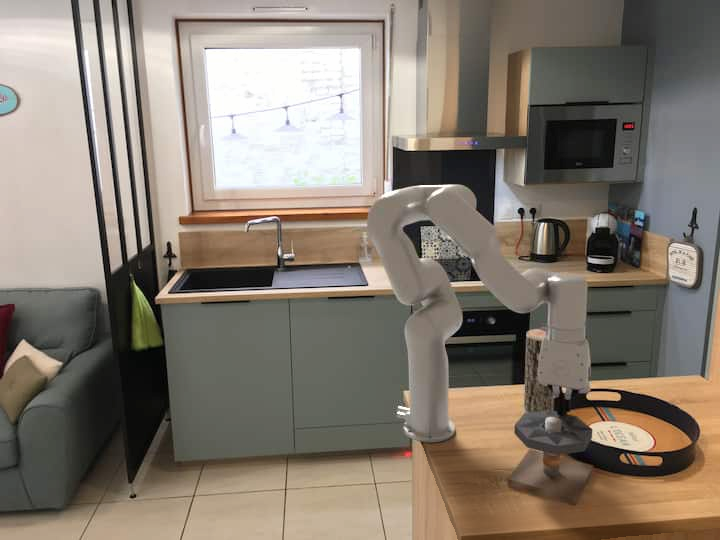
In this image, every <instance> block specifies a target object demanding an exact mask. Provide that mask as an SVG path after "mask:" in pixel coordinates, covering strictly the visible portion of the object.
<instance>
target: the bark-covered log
mask: <svg viewBox="0 0 720 540" xmlns="http://www.w3.org/2000/svg"><path fill="white" fill-rule="evenodd" d="M525 336H526V337H525V367H524V369H525V370H524V394H523V395H524V398H523V399H524V401H523V402H524V403H523V404H524V405H523V414H525V413H532V412H539V411H547V410H551V411H554V404H555V400H554V399H555V397H554V395H553V393H552V391H551V390H550V389H549V388H548V387H546V386H544V385H542V384H539V382H538V381H539V379H538V365H539V357H540V350H541V345H542V341H543V337H544V336H546V331H544V330H541V328H533V329H530V330H528V331H526V335H525Z"/></svg>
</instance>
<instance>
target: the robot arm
mask: <svg viewBox="0 0 720 540" xmlns="http://www.w3.org/2000/svg"><path fill="white" fill-rule="evenodd" d="M420 221H421V222H422V221H430V222H431V223H433V224H434V225H435V226H436V227H437V228H438V229H439V230H440V231H441V232H442V233H443V234H444V235H446V237H448V238H449V239H450V240H451V241H452V242H453V243H454V244H455V245H456V246H457V247H458V248H459V249H460V250H462V252H463V253H464V254H466V256H468V258H469V259H470V261H471V264H472V267H473V270H475V272H476V274H477V276H478V278H479V279H480V281H481V283H482V285H483V286H485V288H486V289H487V290H488V291H489V292H490V293H491V294H492V295H493V296H494V297H495V298H496V299H497V300H498V301H499V302H500V303H502V304H503V305H504V306H505V307H506V308H508V309H509V310H511V311H512V312H515V313H519V314H527V313H531V312H532V311H535V309H537V308H538V307H540V306H541V305H542V304H548V305H547V306H548V307H547V311H548V312H547V323H545V324H544V323H541V324H540V329H541V330H544V331H546V336H544V337H543V341H542V345H541V350H540V357H539V365H538V379H539V381H538V382H539V384H542V385H544V386H546V387H548V388H549V389H550V390H551V391H552V393H553V395H554V399H555V400H554V409H555V410H556V412H557V415H562V416H565V415H566V414H569V413H570V412H571V410H572V398H573V397H574V396H575V395H578V394H589V393H590V391H591V386H590V380H591V372H592V371H591V365H592V364H591V354H590V346H589V341H588V339H586V325H587V324H586V323H587V322H586V321H587V319H586V318H587V301H588V281H587V279H586V277H584V276H583V275H580V274H576V273H569V272H568V273H560V272H559V273H558V272H554V271H550V270H547V269H543V268H537V267H533V268H528V269H526V270H524V271H522V273H520V272H519V271H518V270H517V269H516V268H515V267H514V266H513V265H512V264H511V263H510V262H509V261H508V259H506V257H505V256H504V254H503V252H502V250H501V247H500V241H499V231H498V228H497V227H496V226H495V225H493V224H492V223H491V222H490V221H489V220H487V219H486V218H485V217H484V216H483V215H482V214H481V213H480V212H479V211H477V198H476V196H475V194H474V192H473V191H472V190H471V189H470V188H469V187H467V186H465V185H463V184H442V185H441V184H438V185H437V184H436V185H435V184H434V185H432V184H431V185H413V186H408V187H404V188H399V189H394V190H392V191H388V192H386V193H384V194H382V195H381V196H379V197H378V198H377V199H376V200H375V201H374V202H373V204H372V205H371V206H370V209H369V210H368V214H367V219H366V225H367V232H368V235H369V237H370V239H371V242H372V245H374V248H375V251H377V254H378V256H379V259H380V261H381V263H382V266H383V268H384V271H385V274H386V276H387V279H388V280H389V283H390V286H391V289H392V291H393V292H394V294H395V295H394V296H395V297H396V299H397V300H398V301H399V302H400V303H401V304H403V305H404V306H415V305H417V304H419V303H421V305H422V307H420V308H419V309H417V310H415V311H414V312H413V313H412V314H411V315H410V316H409V317H408V318H407V321H406V322H405V325H404V338H405V339H404V340H405V343H406V349H407V357H408V359H407V360H408V391H409V392H408V393H409V394H408V396H409V397H408V400H409V401H408V402H409V404H408V405H409V407H406V406H401V405H399V406H398V407H397V408H396V418H399V419H403V420H405V422H404V423H403V432H404V434H405V436H407V437H408V438H410V439H412V440H413V441H417V442H422V443H439V442H443V441H446V440H448V439H450V438H451V437H453V436H454V434H455V431H456V425H455V423H454V422H453V421H452V420H450V419H449V414H450V413H449V409H450V408H449V404H450V403H449V387H450V386H449V381H450V380H449V373H450V372H449V359H448V358H449V357H448V354H447V351H446V346H445V345H446V344H445V343H446V340H448V339H449V338H450V337H452V336H453V335H455V333H456V332H457V331H459V329H460V328H461V326H462V324H463V317H464V316H463V311H462V308H461V305H460V303H459V300H458V298H457V296H456V293H455V290H454V288H453V285H452V283H451V281H450V279H449V276H448V274H447V272H446V270H445V269H444V267H443V266H442V265H441V264H440V263H439V262H438V261H437V260H435V259H432V258H429V257H423V258H419V255H418V253H417V250H416V248H415V245H414V243H413V241H412V240H411V239H410V238H409V236H408V235H407V234H406V233H405V231H404V227H405V226H407V225H410V224H414V223H417V222H420ZM563 388H565V392H564V391H563Z"/></svg>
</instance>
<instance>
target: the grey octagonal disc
mask: <svg viewBox="0 0 720 540" xmlns="http://www.w3.org/2000/svg"><path fill="white" fill-rule="evenodd" d="M548 417H556V418H559V419H560V420H561V432H555V433H554V432H550V431H545V419H546V418H548ZM514 435H515V437H517V438H518V439H519V440H520V441H521V442H522V444H523V445H524V446H525V447H526V448H528V449H532V450H536V451H539V452H547V453H550V454H554V455H561V456H562V455H567V454H574V453H580V452H581V453H582V452H585V451H586V449H587V447H588V446H589V444H590V442H591V440H592V439H593V428H591V426H589V425H588V424H587V423H585V421H583V420H582V419H581V418H579V417H578V416H577V415H572V414H569V413H567V414H566V415H565V416H562V415H557V411H555V410H553V411H551V410H547V411H539V412H532V413H525V414H524V413H523V415H522V416H521V417H520V418H519V419H518V420H517V421H516V422H515V424H514Z"/></svg>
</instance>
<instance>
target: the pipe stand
mask: <svg viewBox="0 0 720 540" xmlns="http://www.w3.org/2000/svg"><path fill="white" fill-rule="evenodd" d="M545 431H550V432H554V433H555V432H561V420H560V419H559V418H556V417H548V418H546V419H545ZM593 472H594V465H593V464H589V463H584V462H581V461H578V460H574V459H570V458H566V457H562V454H561V455H554V454H550V453H547V452H543V451H539V450H535V449H531V448H528V450H527V452H526V454H525V455H524V456H523V458H522V459H521V460H520V461H519V463H518V464H517V466H516V467H515V468H514V469H513V470H512V472H511V474H509V476H508V477H507V486H509V487H513V488H515V489H519V490H523V491H524V492H525V491H526V492H530V493H532V494H536V495H539V496H543V497H546V498H549V499H553V500H556V501H559V502H563V503H566V504H569V505H573V506H576V505H577V504H578V501H579V499H580V498H581V496H582V493H583V492H584V491H585V488H586V486H587V484H588V483H589V481H590V479H591V476H592V475H593Z"/></svg>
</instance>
